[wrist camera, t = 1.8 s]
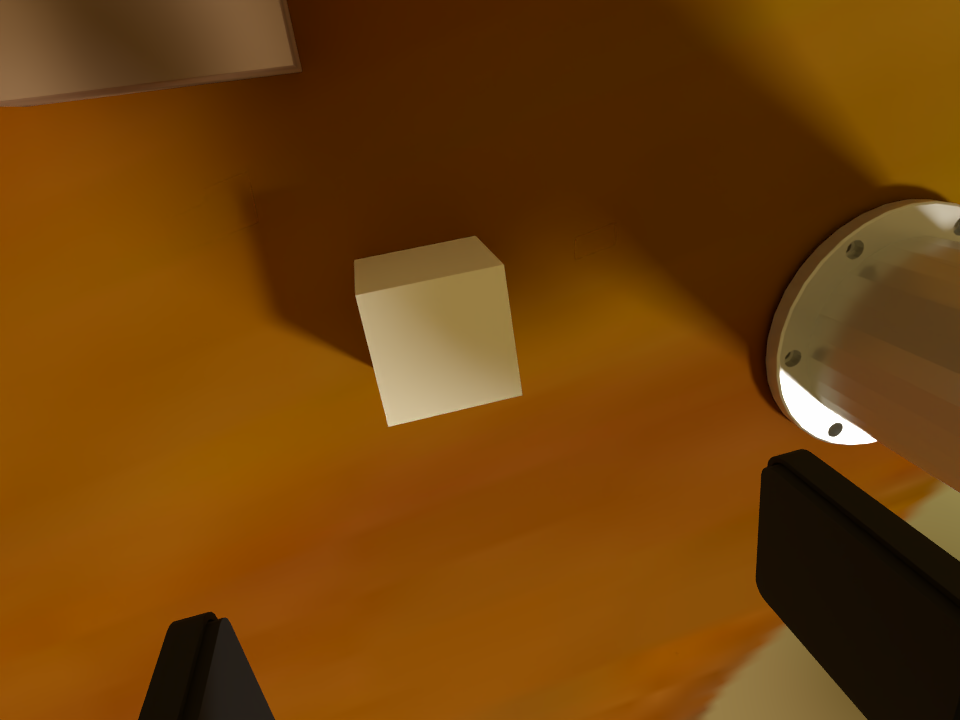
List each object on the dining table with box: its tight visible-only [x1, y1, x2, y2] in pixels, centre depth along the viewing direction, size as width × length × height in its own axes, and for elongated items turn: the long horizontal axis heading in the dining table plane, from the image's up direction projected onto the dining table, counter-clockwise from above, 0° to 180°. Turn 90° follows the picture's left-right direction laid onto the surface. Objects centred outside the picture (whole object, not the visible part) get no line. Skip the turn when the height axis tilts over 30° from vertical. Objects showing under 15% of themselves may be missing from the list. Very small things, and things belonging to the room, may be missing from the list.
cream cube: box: [354, 236, 522, 427], centre depth 23 cm, size 5×5×5 cm
